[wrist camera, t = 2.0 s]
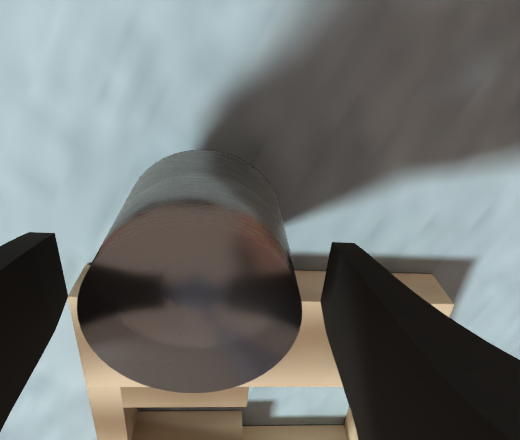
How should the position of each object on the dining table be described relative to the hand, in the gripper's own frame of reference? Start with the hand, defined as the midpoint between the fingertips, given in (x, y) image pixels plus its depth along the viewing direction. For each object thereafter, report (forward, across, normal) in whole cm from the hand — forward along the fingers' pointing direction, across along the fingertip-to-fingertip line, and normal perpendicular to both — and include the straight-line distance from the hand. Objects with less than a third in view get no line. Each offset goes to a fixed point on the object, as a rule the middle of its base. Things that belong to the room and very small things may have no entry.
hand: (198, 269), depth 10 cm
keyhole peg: (+5, 0, 0) cm, 5 cm away
